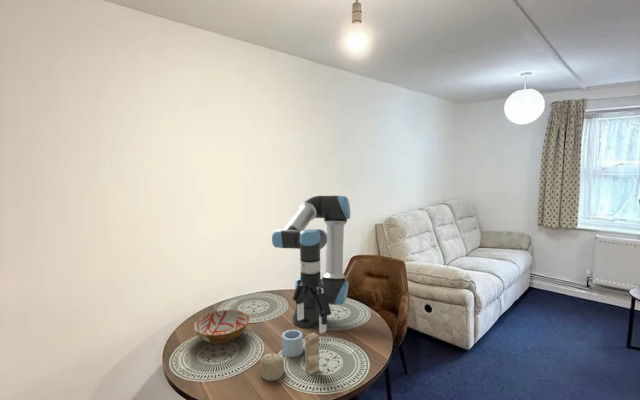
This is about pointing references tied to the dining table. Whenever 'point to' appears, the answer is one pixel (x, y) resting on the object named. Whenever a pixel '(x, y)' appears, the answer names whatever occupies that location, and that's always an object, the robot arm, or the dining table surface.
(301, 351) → the jar
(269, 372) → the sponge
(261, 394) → the dining table surface
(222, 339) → the bowl
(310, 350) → the tan bar
